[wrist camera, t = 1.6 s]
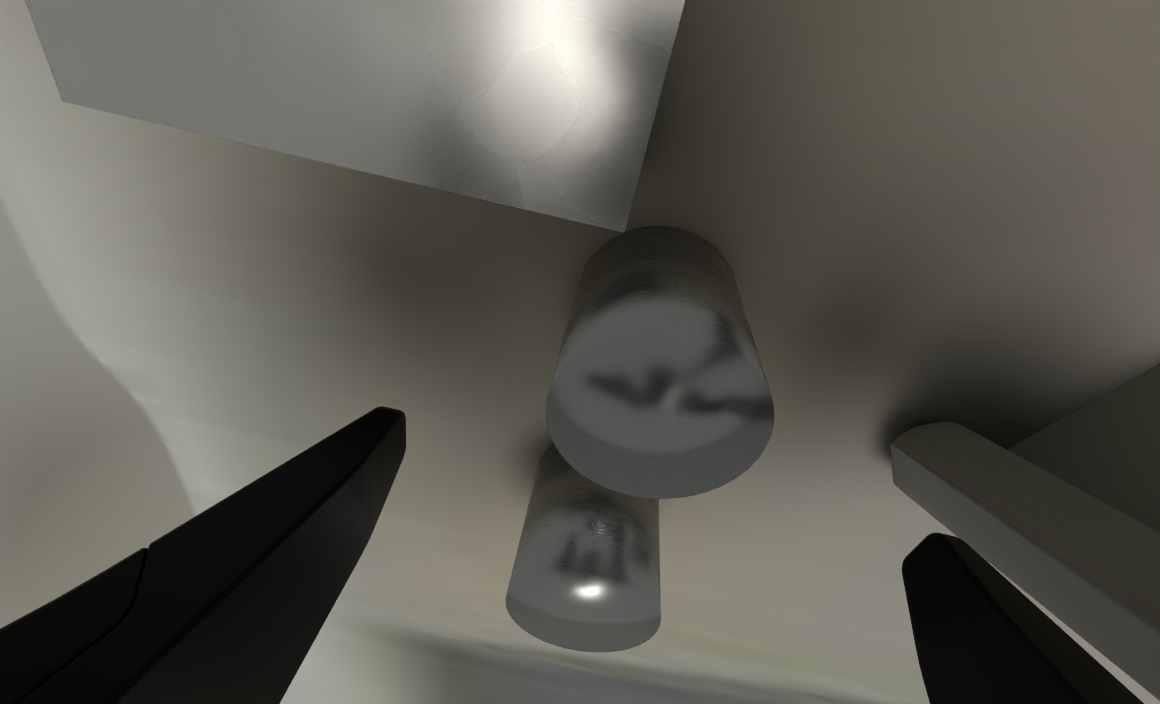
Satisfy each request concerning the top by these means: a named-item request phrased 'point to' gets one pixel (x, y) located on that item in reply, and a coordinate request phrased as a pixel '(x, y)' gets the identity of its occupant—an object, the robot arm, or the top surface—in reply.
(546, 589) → the cylinder
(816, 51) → the top surface
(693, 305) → the cylinder
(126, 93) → the platform
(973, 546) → the digital clock
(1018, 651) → the robot arm
